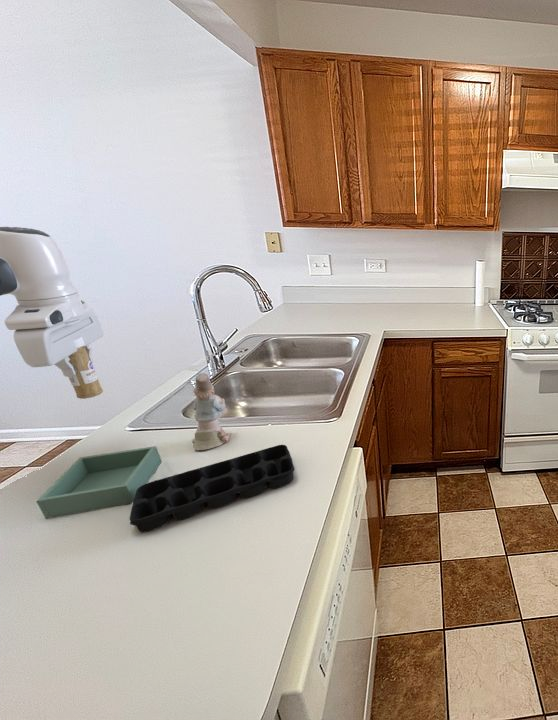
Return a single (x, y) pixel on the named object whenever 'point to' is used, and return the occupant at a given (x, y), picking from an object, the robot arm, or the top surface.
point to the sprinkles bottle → (84, 373)
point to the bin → (100, 482)
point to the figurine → (208, 415)
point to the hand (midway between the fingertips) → (79, 370)
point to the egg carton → (210, 487)
